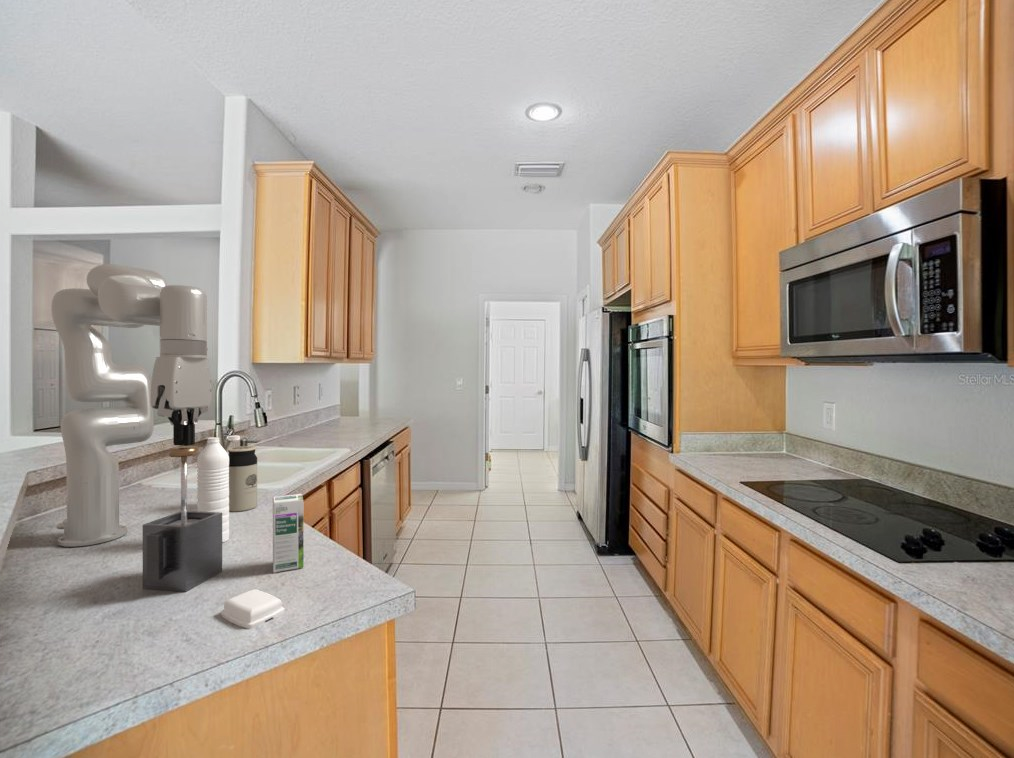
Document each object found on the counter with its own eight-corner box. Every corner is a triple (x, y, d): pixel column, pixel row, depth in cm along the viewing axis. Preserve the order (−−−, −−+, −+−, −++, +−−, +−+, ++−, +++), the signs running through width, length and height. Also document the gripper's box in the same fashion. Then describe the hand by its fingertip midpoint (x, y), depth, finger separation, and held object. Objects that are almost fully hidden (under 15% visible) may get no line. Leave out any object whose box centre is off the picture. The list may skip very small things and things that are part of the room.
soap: (288, 613, 79) (288, 596, 78) (248, 632, 73) (248, 614, 73) (257, 600, 83) (257, 584, 83) (217, 617, 77) (217, 600, 77)
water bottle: (197, 548, 106) (197, 439, 106) (197, 539, 112) (197, 436, 111) (240, 541, 111) (240, 437, 111) (238, 533, 116) (238, 434, 116)
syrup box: (272, 573, 93) (272, 502, 93) (272, 563, 98) (272, 495, 98) (303, 568, 96) (303, 498, 96) (301, 558, 101) (301, 492, 101)
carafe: (130, 594, 84) (130, 528, 84) (182, 568, 95) (182, 510, 95) (175, 598, 83) (174, 531, 83) (222, 571, 94) (222, 512, 94)
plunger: (154, 532, 87) (154, 450, 87) (182, 521, 94) (182, 444, 94) (185, 534, 87) (185, 451, 86) (211, 523, 93) (211, 445, 93)
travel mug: (221, 509, 136) (221, 448, 136) (248, 503, 143) (248, 445, 143) (235, 513, 132) (235, 451, 132) (262, 507, 139) (262, 447, 139)
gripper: (197, 352, 98) (197, 439, 98) (130, 348, 83) (131, 450, 83) (229, 352, 97) (229, 439, 97) (168, 348, 82) (168, 451, 82)
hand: (184, 444), depth 90 cm, fingers closed
